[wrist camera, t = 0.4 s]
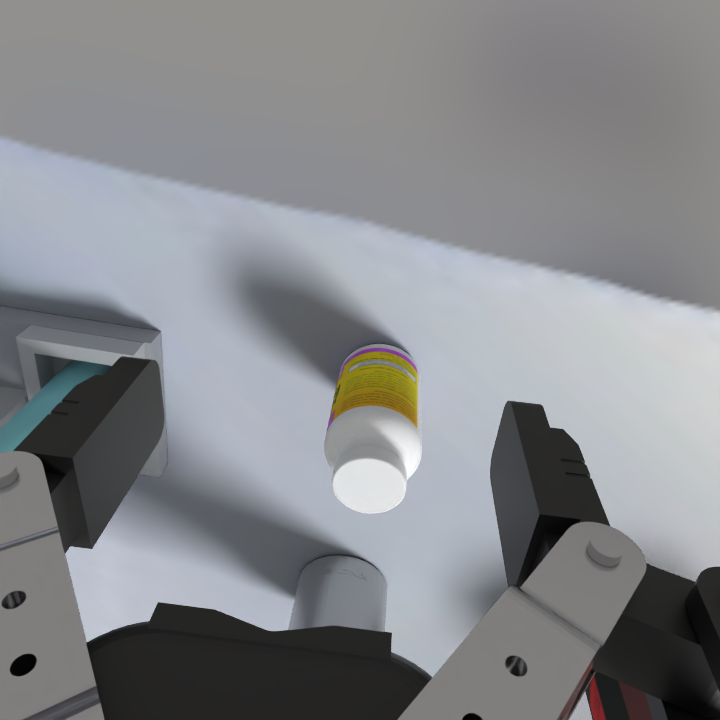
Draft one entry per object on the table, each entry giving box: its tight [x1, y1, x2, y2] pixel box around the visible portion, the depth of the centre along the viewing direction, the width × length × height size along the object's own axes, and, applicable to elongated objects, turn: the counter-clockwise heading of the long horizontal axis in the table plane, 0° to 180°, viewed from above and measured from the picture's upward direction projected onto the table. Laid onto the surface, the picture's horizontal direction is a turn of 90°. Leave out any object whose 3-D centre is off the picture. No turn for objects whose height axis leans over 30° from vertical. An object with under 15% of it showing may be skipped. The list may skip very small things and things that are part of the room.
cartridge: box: [0, 359, 111, 453], centre depth 41 cm, size 5×5×14 cm
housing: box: [0, 306, 168, 478], centre depth 46 cm, size 14×19×9 cm
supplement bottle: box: [324, 344, 422, 513], centre depth 41 cm, size 7×7×13 cm
